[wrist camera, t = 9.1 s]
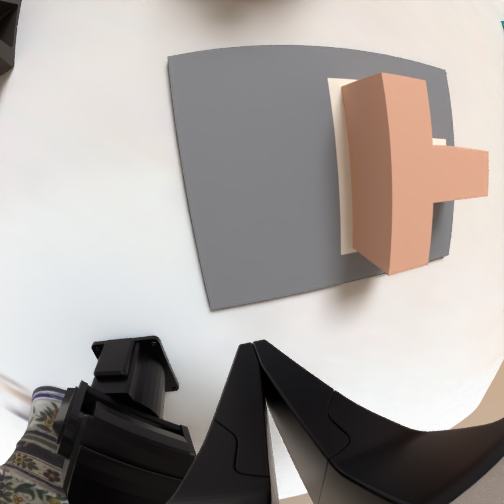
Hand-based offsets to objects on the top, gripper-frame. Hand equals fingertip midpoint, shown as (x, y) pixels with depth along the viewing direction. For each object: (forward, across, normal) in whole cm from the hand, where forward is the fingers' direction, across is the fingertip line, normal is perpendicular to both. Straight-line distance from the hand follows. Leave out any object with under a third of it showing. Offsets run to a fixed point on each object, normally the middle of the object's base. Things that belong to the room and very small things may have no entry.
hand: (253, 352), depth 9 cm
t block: (+10, -15, -4) cm, 19 cm away
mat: (+11, -10, -4) cm, 15 cm away
